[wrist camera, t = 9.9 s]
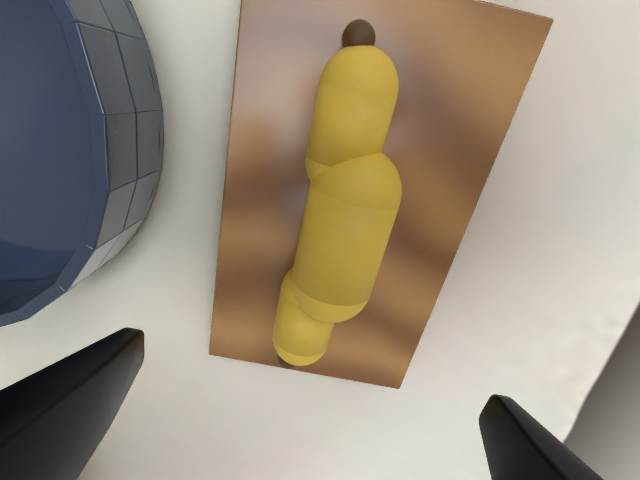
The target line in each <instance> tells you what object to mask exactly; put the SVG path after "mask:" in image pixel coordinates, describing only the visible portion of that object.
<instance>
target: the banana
mask: <svg viewBox="0 0 640 480" xmlns="http://www.w3.org/2000/svg"><path fill="white" fill-rule="evenodd" d="M374 44H375V31H374V29H373V27H372V25H371V24H370V23H369V22H367V21H365V20H362V19H357V20H354V21H352V22H350V23H349V24H348V25H347V26H346V28H345V29H344V32H343V35H342V45H343V49H341V50H339V51H338V52H337V53H336V54H334V55H333V56H332V57H331V58H330V60H329V61H328V62H327V64H326V65H325V67H324V69H323V71H322V74H321V78H320V81H319V87H318V92H317V98H316V103H315V108H314V114H313V119H312V124H311V130H310V135H309V140H308V146H307V151H306V158H305V165H306V172H307V175H308V178H309V179H310V186H309V191H308V196H307V201H306V206H305V211H304V216H303V221H302V226H301V231H300V236H299V241H298V246H297V251H296V256H295V261H294V266H293V267H292V268H291V269H290V270H289V271H288V272H287V274H286V275H285V277H284V279H283V282H282V285H281V290H280V296H279V301H278V306H277V312H276V317H275V322H274V328H273V337H272V339H273V344H274V348H275V350H276V352H277V353H278V362H279V364H280V365H281V366H282V367H283V368H286V369H291V368H293V367H295V366H305V365H309V364H312V363H314V362H315V361H317V360H318V359H320V358H321V357H322V355H323V354H324V353H325V351H326V349H327V347H328V345H329V341H330V337H331V334H332V330H333V327H334V323H338V322H343V321H345V320H348V319H351V318H352V317H354V316H355V315H357V314H358V313H359V312H360V311H361V310H362V309H363V308H364V306H365V305H366V304H367V302H368V300H369V298H370V295H371V293H372V290H373V287H374V283H375V280H376V277H377V274H378V271H379V268H380V265H381V262H382V258H383V255H384V252H385V249H386V246H387V243H388V240H389V237H390V233H391V230H392V227H393V224H394V221H395V218H396V215H397V212H398V208H399V205H400V201H401V196H402V185H401V180H400V176H399V174H398V171H397V169H396V167H395V165H394V164H393V163H392V161H391V160H390V159H389V158H388V157H387V156H386V155H385V154H384V153H382V151H383V147H384V143H385V140H386V136H387V133H388V129H389V125H390V122H391V118H392V115H393V111H394V108H395V104H396V100H397V96H398V91H399V80H398V75H397V71H396V68H395V66H394V64H393V62H392V61H391V59H390V58H389V57H388V56H387V55H386V54H385V53H384V52H383V51H382V50H380V49H378V48H377V47H375V46H374Z"/></svg>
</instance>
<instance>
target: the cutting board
mask: <svg viewBox="0 0 640 480" xmlns="http://www.w3.org/2000/svg"><path fill="white" fill-rule="evenodd" d="M357 19H362V20H365V21H367V22H369V23H370V24H371V25H372V27H373V29H374V31H375V44H374V46H375V47H377V48H378V49H380V50H382V51H383V52H384V53H385V54H386V55H387V56H388V57H389V58H390V59H391V61H392V62H393V64H394V66H395V68H396V71H397V75H398V80H399V91H398V96H397V100H396V104H395V108H394V111H393V115H392V118H391V122H390V125H389V129H388V133H387V136H386V140H385V143H384V147H383V151H382V153H384V154H385V155H386V156H387V157H388V158H389V159H390V160H391V161H392V163H393V164H394V165H395V167H396V169H397V171H398V174H399V176H400V180H401V185H402V196H401V201H400V205H399V208H398V212H397V215H396V218H395V221H394V224H393V227H392V230H391V233H390V237H389V240H388V243H387V246H386V249H385V252H384V255H383V258H382V262H381V265H380V268H379V271H378V274H377V277H376V280H375V283H374V287H373V290H372V293H371V295H370V298H369V300H368V302H367V304H366V305H365V306H364V308H363V309H362V310H361V311H360V312H359V313H358V314H357V315H355V316H354V317H352V318H351V319H348V320H345V321H343V322H338V323H334V327H333V330H332V334H331V337H330V341H329V345H328V347H327V349H326V351H325V353H324V354H323V355H322V357H321V358H320V359H318V360H317V361H315V362H314V363H312V364H309V365H305V366H295V367H293V368H291V369H292V370H298V371H303V372H309V373H314V374H320V375H325V376H331V377H336V378H342V379H347V380H353V381H358V382H363V383H369V384H374V385H380V386H385V387H391V388H396V389H399V388H400V386H401V383H402V381H403V379H404V376H405V374H406V371H407V369H408V367H409V364H410V362H411V359H412V357H413V355H414V352H415V350H416V348H417V345H418V343H419V340H420V338H421V336H422V333H423V331H424V328H425V326H426V324H427V321H428V319H429V317H430V314H431V312H432V309H433V307H434V305H435V302H436V300H437V297H438V295H439V293H440V290H441V288H442V285H443V283H444V281H445V278H446V276H447V274H448V271H449V269H450V266H451V264H452V262H453V259H454V257H455V254H456V252H457V250H458V247H459V245H460V243H461V240H462V238H463V235H464V233H465V231H466V228H467V226H468V223H469V221H470V219H471V216H472V214H473V211H474V209H475V207H476V204H477V202H478V200H479V197H480V195H481V192H482V190H483V188H484V185H485V183H486V180H487V178H488V176H489V173H490V171H491V168H492V166H493V164H494V161H495V159H496V157H497V154H498V152H499V149H500V147H501V145H502V142H503V140H504V137H505V135H506V133H507V130H508V128H509V126H510V123H511V121H512V118H513V116H514V114H515V111H516V109H517V106H518V104H519V102H520V99H521V97H522V94H523V92H524V90H525V87H526V85H527V83H528V80H529V78H530V75H531V73H532V71H533V68H534V66H535V63H536V61H537V59H538V56H539V54H540V52H541V49H542V47H543V44H544V42H545V40H546V37H547V35H548V32H549V30H550V28H551V25H552V23H553V19H552V18H548V17H544V16H540V15H536V14H532V13H528V12H524V11H520V10H516V9H512V8H508V7H504V6H500V5H496V4H492V3H488V2H484V1H480V0H241V7H240V18H239V29H238V40H237V51H236V62H235V73H234V84H233V95H232V106H231V117H230V128H229V139H228V150H227V161H226V172H225V183H224V194H223V205H222V216H221V227H220V238H219V249H218V259H217V270H216V281H215V292H214V303H213V314H212V325H211V336H210V347H209V354H210V355H215V356H221V357H226V358H232V359H237V360H243V361H248V362H254V363H259V364H265V365H270V366H276V367H281V368H283V367H282V366H281V365H280V364H279V362H278V353H277V352H276V350H275V348H274V344H273V339H272V337H273V328H274V322H275V317H276V312H277V306H278V301H279V296H280V290H281V285H282V282H283V279H284V277H285V275H286V274H287V272H288V271H289V270H290V269H291V268H292V267H293V266H294V261H295V256H296V251H297V246H298V241H299V236H300V231H301V226H302V221H303V216H304V211H305V206H306V201H307V196H308V191H309V186H310V179H309V178H308V175H307V172H306V165H305V158H306V151H307V146H308V140H309V135H310V130H311V124H312V119H313V114H314V108H315V103H316V98H317V92H318V87H319V81H320V78H321V74H322V71H323V69H324V67H325V65H326V64H327V62H328V61H329V60H330V58H331V57H332V56H333V55H334V54H336V53H337V52H338V51H339V50H341V49H343V45H342V35H343V32H344V29H345V28H346V26H347V25H348V24H349V23H350V22H352V21H354V20H357Z"/></svg>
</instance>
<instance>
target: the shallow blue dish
mask: <svg viewBox="0 0 640 480" xmlns="http://www.w3.org/2000/svg"><path fill="white" fill-rule="evenodd" d="M163 144H164V133H163V113H162V105H161V99H160V93H159V87H158V81H157V76H156V73H155V69H154V66H153V62H152V59H151V55H150V52H149V48H148V45H147V42H146V39H145V37H144V34H143V32H142V29H141V27H140V24H139V22H138V19H137V17H136V14H135V12H134V9H133V7H132V5H131V3H130V1H129V0H0V327H2V326H5V325H8V324H12V323H15V322H19V321H22V320H26V319H28V318H30V317H32V316H33V315H35V314H36V313H37V312H39V311H40V310H42V309H43V308H45V307H46V306H47V305H49V304H50V303H52V302H53V301H55V300H56V299H57V298H59V297H60V296H62V295H63V294H65V293H66V292H67V291H69V290H70V289H71V288H73V287H74V286H75V285H77V284H78V283H79V282H81V281H82V280H83V279H85V278H86V277H87V276H89V275H90V274H92V273H93V272H94V271H95V270H97V269H98V268H100V267H101V266H102V265H104V264H105V263H106V262H108V261H109V260H110V259H112V258H113V257H114V256H116V255H117V254H118V253H119V252H120V251H121V250H122V248H123V247H124V246H125V245H126V244H127V243H128V241H129V240H130V239H131V238H132V237H133V236H134V234H135V233H136V232H137V230H138V229H139V227H140V225H141V224H142V222H143V220H144V219H145V217H146V215H147V214H148V211H149V209H150V206H151V203H152V201H153V198H154V196H155V193H156V190H157V186H158V181H159V177H160V172H161V168H162V156H163Z"/></svg>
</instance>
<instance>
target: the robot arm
mask: <svg viewBox="0 0 640 480" xmlns="http://www.w3.org/2000/svg"><path fill="white" fill-rule="evenodd" d="M143 360H144V333H143V331H142V330H139V329H134V328H123V329H121V330H119V331H117V332H115V333H113V334H111V335H109V336H107V337H105V338H103V339H101V340H99V341H97V342H95V343H93V344H91V345H89V346H87V347H85V348H83V349H81V350H79V351H77V352H75V353H74V354H72V355H70V356H68V357H66V358H64V359H62V360H60V361H58V362H56V363H54V364H52V365H50V366H48V367H46V368H44V369H42V370H40V371H38V372H36V373H34V374H32V375H30V376H28V377H26V378H24V379H22V380H20V381H18V382H16V383H14V384H12V385H10V386H8V387H6V388H4V389H2V390H0V480H76V479H77V477H78V476H79V474H80V473H81V471H82V470H83V468H84V467H85V465H86V463H87V462H88V460H89V459H90V457H91V456H92V454H93V453H94V451H95V449H96V448H97V446H98V445H99V443H100V442H101V440H102V439H103V437H104V435H105V434H106V432H107V430H108V429H109V427H110V426H111V424H112V422H113V420H114V418H115V416H116V414H117V412H118V410H119V408H120V406H121V405H122V403H123V401H124V399H125V397H126V395H127V393H128V391H129V389H130V387H131V385H132V383H133V381H134V379H135V377H136V375H137V373H138V371H139V369H140V367H141V365H142V363H143ZM479 426H480V431H481V435H482V439H483V444H484V448H485V452H486V457H487V461H488V465H489V470H490V474H491V478H492V480H603V479H602V478H601V477H600V476H599V475H598V474H596V473H595V472H594V471H593V470H592V469H591V468H590V467H589V466H587V465H586V464H585V463H584V462H583V461H582V460H581V459H580V458H578V457H577V456H576V455H575V454H574V453H573V452H572V451H570V450H569V449H568V448H567V447H566V446H565V445H564V444H563V443H561V442H560V441H559V440H558V439H557V438H556V437H555V436H553V435H552V434H551V433H550V432H549V431H548V430H547V429H546V428H544V427H543V426H542V425H541V424H540V423H539V422H538V421H536V420H535V419H534V418H533V417H532V416H531V415H530V414H529V413H527V412H526V411H525V410H524V409H523V408H522V407H521V406H519V405H518V404H517V403H516V402H515V401H514V400H513V399H511V398H510V397H507V396H502V395H497V394H494V395H492V396H491V397H490V398H489V400H488V402H487V403H486V405H485V407H484V409H483V410H482V412H481V414H480V417H479Z"/></svg>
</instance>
